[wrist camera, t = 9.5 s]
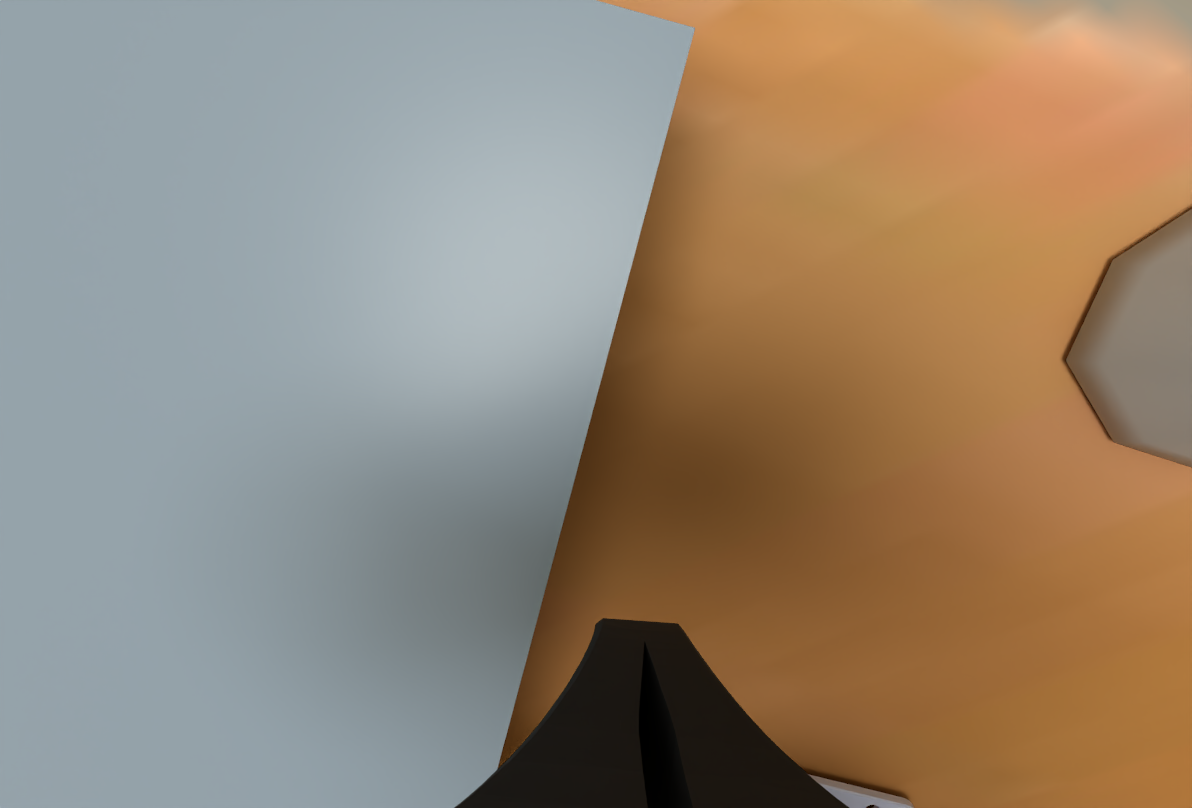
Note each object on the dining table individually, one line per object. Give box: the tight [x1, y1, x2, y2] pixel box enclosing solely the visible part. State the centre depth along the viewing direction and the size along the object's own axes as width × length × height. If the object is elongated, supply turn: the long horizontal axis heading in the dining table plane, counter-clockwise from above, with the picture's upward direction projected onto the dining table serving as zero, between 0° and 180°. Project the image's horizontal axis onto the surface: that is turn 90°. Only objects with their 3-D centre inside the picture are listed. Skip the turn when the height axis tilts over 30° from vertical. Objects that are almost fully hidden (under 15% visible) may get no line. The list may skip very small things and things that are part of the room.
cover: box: [0, 0, 695, 808], centre depth 14 cm, size 21×13×1 cm, turn 165°
